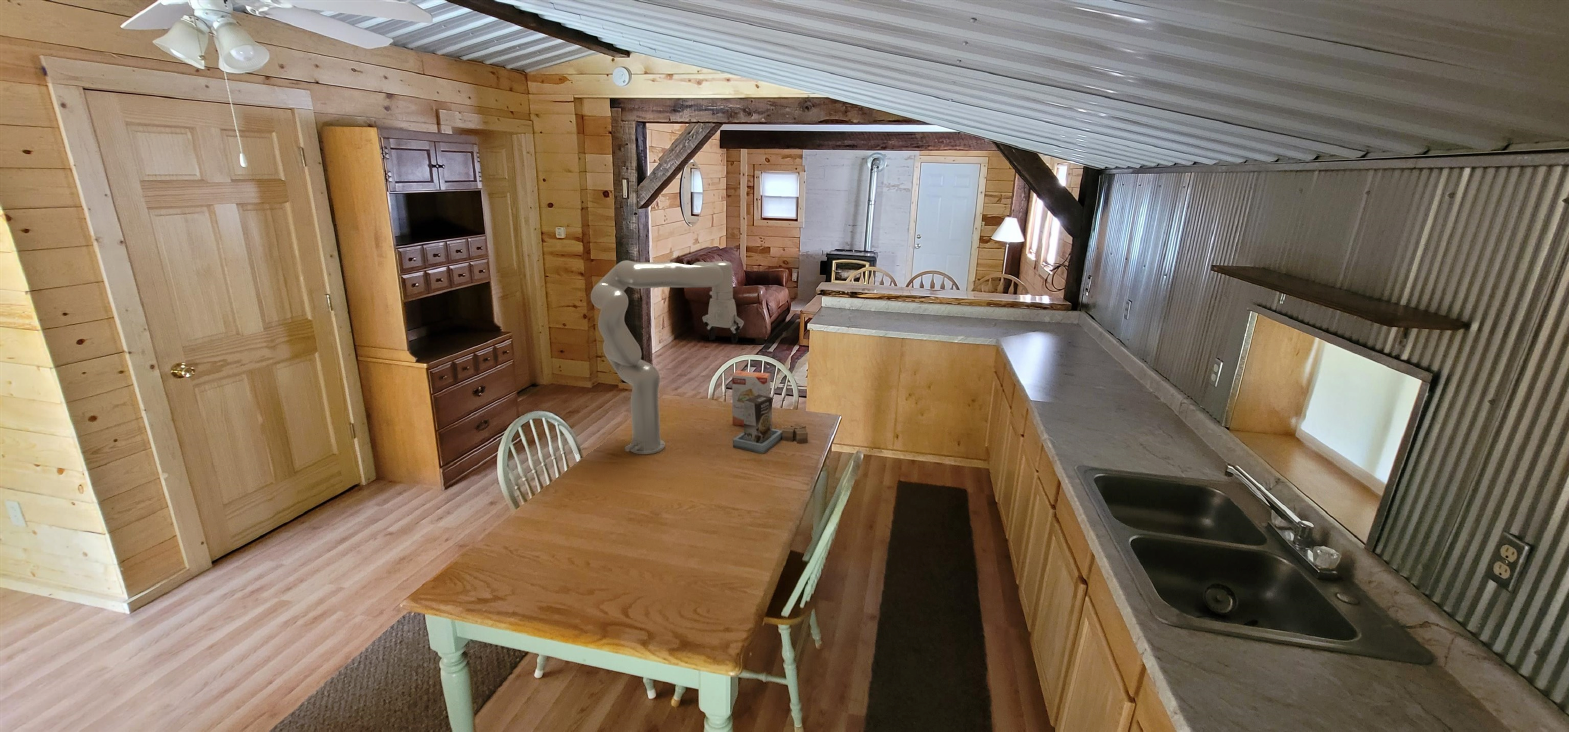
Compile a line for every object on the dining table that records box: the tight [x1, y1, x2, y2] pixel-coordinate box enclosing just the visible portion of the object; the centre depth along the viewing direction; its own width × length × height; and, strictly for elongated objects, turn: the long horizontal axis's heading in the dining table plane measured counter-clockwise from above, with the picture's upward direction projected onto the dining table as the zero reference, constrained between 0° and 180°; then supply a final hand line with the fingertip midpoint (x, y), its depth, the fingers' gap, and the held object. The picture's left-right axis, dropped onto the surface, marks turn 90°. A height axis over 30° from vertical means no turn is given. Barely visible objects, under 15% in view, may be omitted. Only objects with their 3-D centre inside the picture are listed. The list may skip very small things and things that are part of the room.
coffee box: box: [743, 394, 773, 444], centre depth 234 cm, size 9×6×16 cm
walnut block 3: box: [794, 428, 809, 444], centre depth 238 cm, size 4×4×4 cm
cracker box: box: [731, 370, 771, 427], centre depth 250 cm, size 14×6×21 cm, turn 78°
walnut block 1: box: [781, 425, 795, 442], centre depth 240 cm, size 4×4×4 cm
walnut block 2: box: [790, 422, 807, 430], centre depth 243 cm, size 4×4×4 cm
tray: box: [732, 428, 783, 455], centre depth 236 cm, size 15×12×3 cm
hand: (723, 341), depth 241 cm, fingers open, 9 cm apart
